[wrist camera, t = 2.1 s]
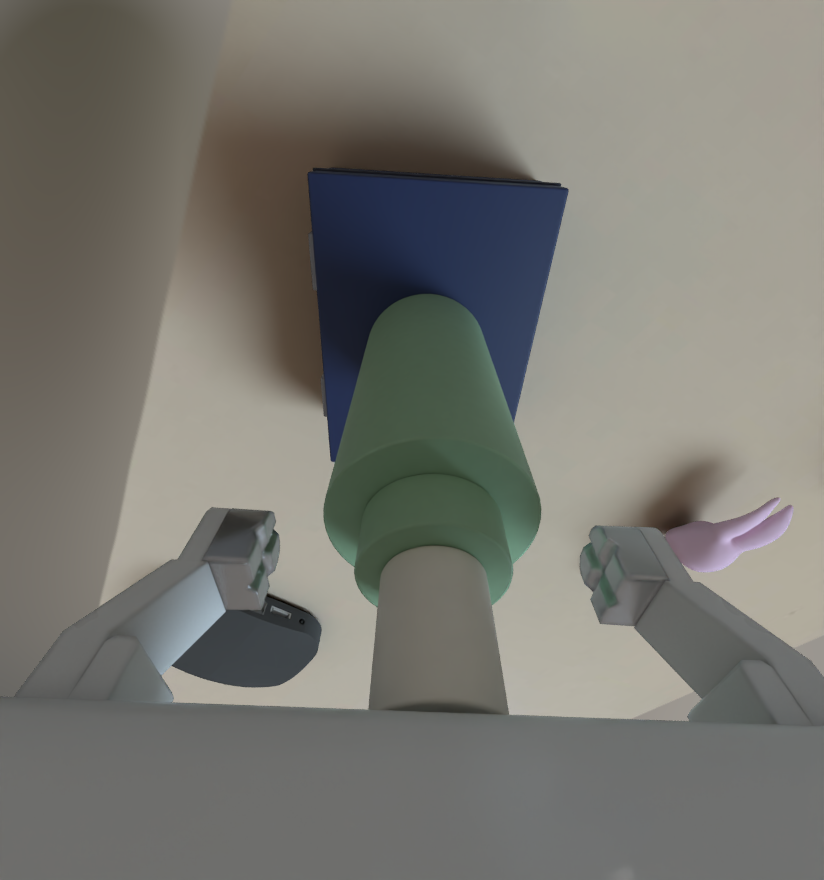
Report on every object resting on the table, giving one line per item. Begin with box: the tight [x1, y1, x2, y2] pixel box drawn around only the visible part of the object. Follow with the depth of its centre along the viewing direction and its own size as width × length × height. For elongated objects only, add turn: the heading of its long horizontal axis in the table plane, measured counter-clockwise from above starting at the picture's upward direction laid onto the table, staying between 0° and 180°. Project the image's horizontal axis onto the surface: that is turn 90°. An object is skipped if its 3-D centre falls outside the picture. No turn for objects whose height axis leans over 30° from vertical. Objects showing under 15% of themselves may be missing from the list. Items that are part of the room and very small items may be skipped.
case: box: [308, 168, 568, 462], centre depth 22 cm, size 14×10×5 cm
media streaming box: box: [171, 596, 321, 687], centre depth 42 cm, size 15×15×3 cm
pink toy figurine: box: [666, 498, 793, 572], centre depth 32 cm, size 6×6×15 cm
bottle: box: [324, 294, 541, 715], centre depth 13 cm, size 6×6×16 cm
